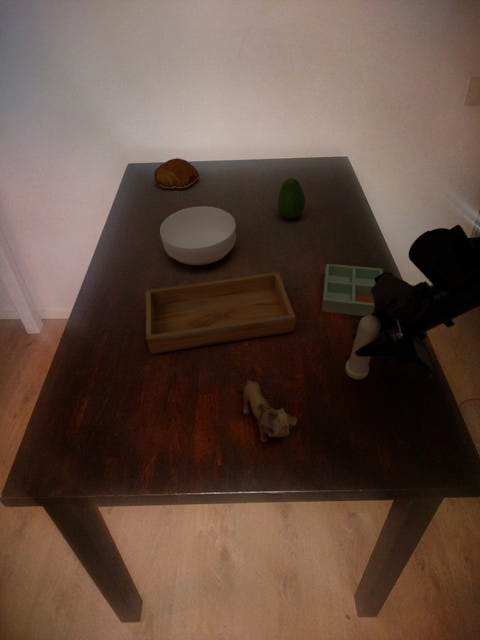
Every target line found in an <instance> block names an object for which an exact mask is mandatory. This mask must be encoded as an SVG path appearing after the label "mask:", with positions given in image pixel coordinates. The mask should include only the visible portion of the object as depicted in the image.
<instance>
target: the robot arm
mask: <svg viewBox="0 0 480 640" xmlns="http://www.w3.org/2000/svg"><path fill="white" fill-rule="evenodd" d="M408 259H409V261H410V262H411V263H412V264H413V265H414V266H415V267H416V268H417V269H418V271H419V272H421V274H423V276H424V277H425V278H426V279H427V280H428V281H429V282H430V283H431V284H429V282H427V281H426V280H425V281H420V282H418V283H417V284H413V285H412V284H410V283H408V282H407V281H405V280H404V279H401V278H399V277H397V276H396V275H395V274H394V273H393V272H391V271H390V272H388V271H387V272H383V273H382V274H380V275H379V276H377V277H376V278H374V279H375V283H376V284H375V285H374V286H373V287H372V288H371V293H372V294H373V298H374V302H373V303H374V306H375V308H374V311H373V313H372V314H371V315H373V316H375V317H377V318H378V319H379V321H380V324H381V327H380V331H379V334H381V335H380V337H377V339H376V340H374V341H372V342H370V343H369V344H367V345H365V346H363V347H361V348H360V349H358V350H357V351H355V354H356V355H357V356H359V357H371V358H372V357H388V358H389V357H390V358H393V360H394V362H395V364H396V366H397V367H398V368H399V369H400V370H401V371H403V373H405V374H406V375H407V376H408V377H410V378H411V379H412V380H413V381H415V382H416V383H417V384H419V383H421V382H424V381H427V380H429V379H430V378H432V376H433V374H434V372H435V369H434V366H433V363H432V360H431V357H430V355H429V351H427V350H426V349H425V348H423V346H422V345H420V344H419V343H418V342H417V341H416V338H415V337H417V338H418V339H419V340H420V341H423V340H426V339H428V334H427V332H429V331H431V330H433V329H435V328H437V327H440V326H442V325H444V326H445V327H446V328H450V327H453V326H455V322H454V319H456V318H458V317H460V316H462V315H464V314H466V313H469V312H470V311H473V310H475V309H477V308H479V307H480V236H476V237H475V236H473V237H468V235H467V233H466V231H465V230H464V229H463V227H462V225H460V224H456V225H454V226H453V227H451V228H450V229H449V228H447V227H438V228H434V229H432V230H426V231H424V232H423V233H422V234H420V235H419V236H418V237H416V239H415V240H414V241H413V243H412V244H411V245H410V247H409V250H408ZM393 329H397V332H396V333H393V334H392V333H390V332H389V331H390V330H393ZM356 334H357V330H356V331H355V332H354V333H353V334H352V336H351V337H352V339H353V340H354V341H355V338H356Z"/></svg>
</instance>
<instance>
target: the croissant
mask: <svg viewBox="0 0 480 640" xmlns="http://www.w3.org/2000/svg"><path fill="white" fill-rule="evenodd" d="M153 175H154V177H153V178H154V182H155V184H156V183H157V184H158V185H162V186H164V187H173V186H176V187H184V186H187V185H189V184H191V183H193V182H194V181H195V180H196V179H197V177H198V178H199V177H200V173H199V172H198V170H197V169H196V167H195V166H194V165H192V164H191V163H190V162H188V160H186V159H183V158H180V157H175V158H171V159H168V160H167V161H164V163H162V164H160V165H159V166H158V167H157V168H155V170H154V172H153ZM157 184H156V185H157ZM158 185H157V186H158ZM193 185H195V183H193V184H191V185H190V186H188V187H185V188H176V187H175V188H162V187H161V186H158V188H159V189H161V190H174V191H178V192H179V191H183V190H185V189H188V188H189V187H192V186H193Z"/></svg>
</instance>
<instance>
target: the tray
mask: <svg viewBox="0 0 480 640" xmlns="http://www.w3.org/2000/svg"><path fill="white" fill-rule="evenodd" d="M145 314H146V315H145V322H146V323H145V335H146V336H145V339H146V342H147V346H148V348H149V352H150V353H151V355H154V354H161V353H167V352H172V351H180V350H185V349H191V348H197V347H205V346H212V345H218V344H223V343H231V342H238V341H244V340H251V339H258V338H264V337H270V336H271V337H272V336H277V335H284V334H290V333H294V332H295V327H296V326H295V324H296V314H295V312H294V309H293V307H292V304H291V301H290V299H289V297H288V294H287V291H286V289H285V286H284V283H283V281H282V278H281V276H280V273H279V272H278V271H277V272H276V271H275V272H267V273H260V274H253V275H246V276H238V277H231V278H224V279H217V280H209V281H202V282H195V283H188V284H187V283H186V284H179V285H173V286H166V287H159V288H151V289H145Z"/></svg>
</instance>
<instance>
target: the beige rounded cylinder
mask: <svg viewBox="0 0 480 640" xmlns="http://www.w3.org/2000/svg"><path fill="white" fill-rule="evenodd" d="M380 327H381V324H380V321H379V319H378V318H377V317H375V316H373V315H367V316H362V317H361V319H360V320H359V322H358V327H357V330H356V331H357V334H356V338H355V340H354V342H353V345H352V349H351V353H350V357H349V359H348V360H347V361H346V363H345V367H344V370H345V373H346V374H347V376H348V377H350V378H351V379H355V380H363V379H365V378H366V377H368V375H369V373H370V365H369V364H370V361H371V358H372V357H359V356H357V355H356V354H355V351H357V350H358V349H360V348H361V347H363V346H365V345H367V344H369V343H370V342H372V341H374V340H376V339H378V338H379V336H378V335H379V334H380V333H379V331H380Z"/></svg>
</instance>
